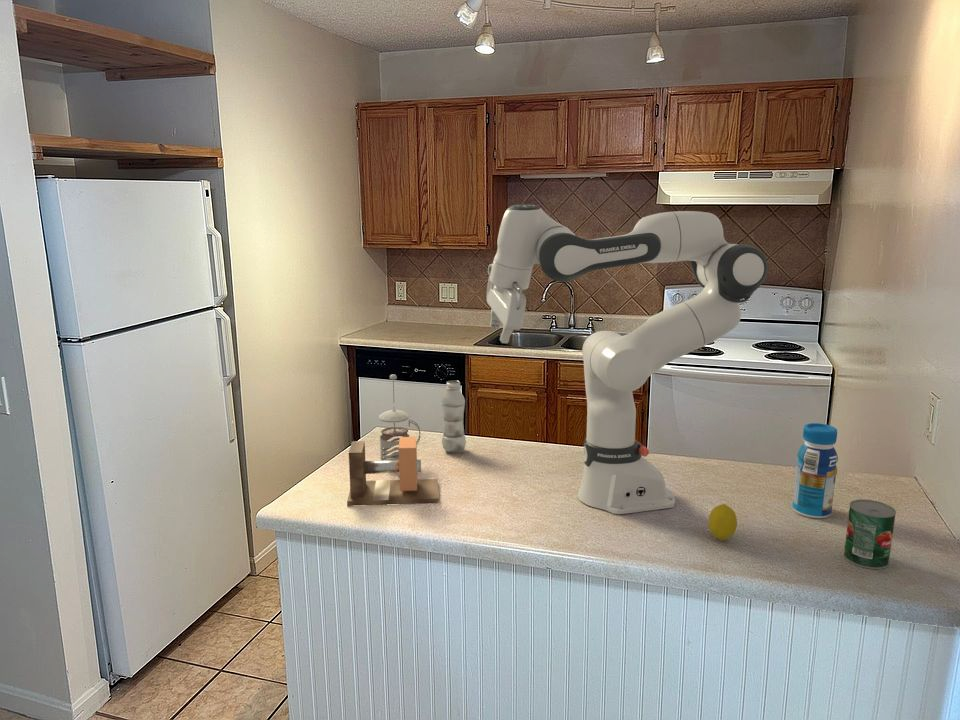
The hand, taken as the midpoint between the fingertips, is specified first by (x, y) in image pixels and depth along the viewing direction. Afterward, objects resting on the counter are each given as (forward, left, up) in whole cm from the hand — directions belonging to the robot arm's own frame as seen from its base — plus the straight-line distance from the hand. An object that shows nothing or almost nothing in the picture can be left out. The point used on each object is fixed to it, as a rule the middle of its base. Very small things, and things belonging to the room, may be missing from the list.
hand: (498, 334), depth 163 cm
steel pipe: (+26, -1, -33) cm, 42 cm away
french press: (+24, -20, -39) cm, 50 cm away
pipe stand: (+25, -1, -39) cm, 46 cm away
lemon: (-44, +28, -39) cm, 65 cm away
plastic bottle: (+9, -30, -39) cm, 50 cm away
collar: (+21, -1, -36) cm, 42 cm away
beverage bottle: (-70, +16, -39) cm, 81 cm away
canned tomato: (-69, +38, -39) cm, 88 cm away
